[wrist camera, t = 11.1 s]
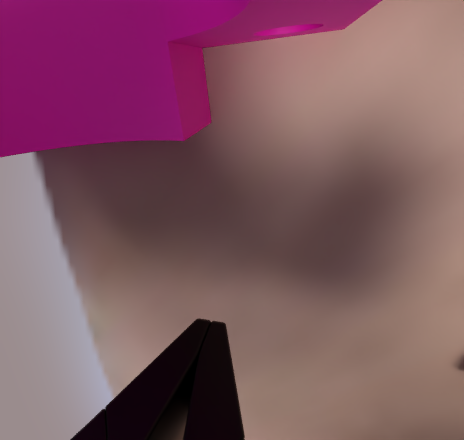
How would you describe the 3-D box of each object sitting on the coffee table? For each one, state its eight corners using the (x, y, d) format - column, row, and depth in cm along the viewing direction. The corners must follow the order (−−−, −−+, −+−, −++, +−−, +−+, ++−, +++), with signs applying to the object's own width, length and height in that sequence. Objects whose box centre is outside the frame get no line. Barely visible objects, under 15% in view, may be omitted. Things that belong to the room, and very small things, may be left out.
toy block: (-7, 139, 14) (-271, 203, 8) (-79, -32, 12) (-583, -162, 5) (339, 111, 11) (404, 178, 4) (349, -131, 8) (546, -844, 2)
